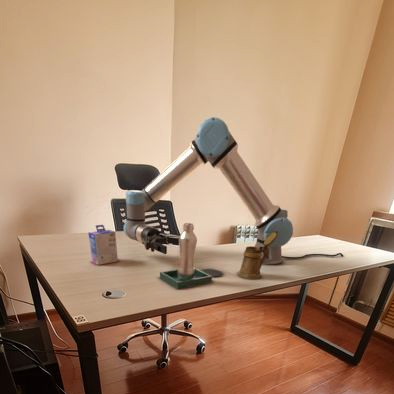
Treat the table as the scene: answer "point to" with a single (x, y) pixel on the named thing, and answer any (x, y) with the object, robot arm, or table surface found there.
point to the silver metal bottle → (187, 252)
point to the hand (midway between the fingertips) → (180, 248)
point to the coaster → (212, 272)
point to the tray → (178, 283)
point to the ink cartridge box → (103, 246)
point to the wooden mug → (255, 258)
